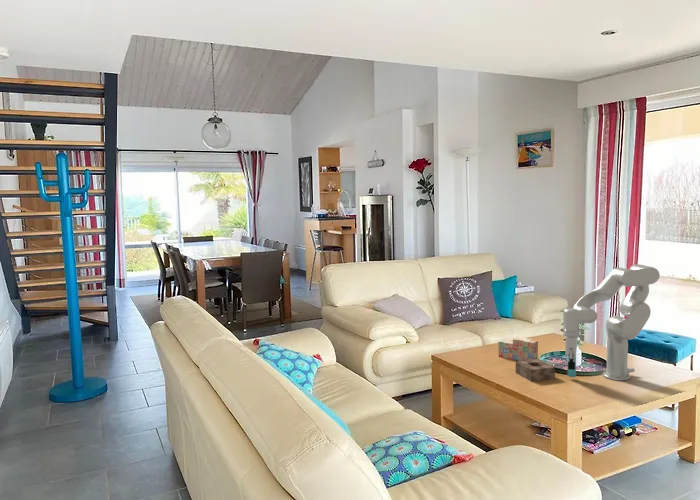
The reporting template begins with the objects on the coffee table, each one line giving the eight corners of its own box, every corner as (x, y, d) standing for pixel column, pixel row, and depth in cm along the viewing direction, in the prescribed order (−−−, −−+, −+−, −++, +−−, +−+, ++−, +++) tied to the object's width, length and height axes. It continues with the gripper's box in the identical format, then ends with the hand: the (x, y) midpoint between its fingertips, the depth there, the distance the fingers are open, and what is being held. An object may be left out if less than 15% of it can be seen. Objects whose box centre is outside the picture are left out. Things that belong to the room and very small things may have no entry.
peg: (572, 373, 274) (572, 351, 272) (577, 376, 270) (577, 353, 268) (565, 374, 273) (565, 352, 271) (571, 377, 269) (570, 354, 267)
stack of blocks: (498, 356, 312) (498, 336, 310) (503, 354, 316) (503, 334, 315) (533, 364, 297) (533, 342, 296) (537, 361, 302) (538, 340, 301)
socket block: (538, 369, 287) (538, 359, 286) (554, 378, 274) (555, 367, 273) (515, 372, 283) (515, 361, 283) (531, 381, 270) (531, 370, 269)
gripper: (564, 328, 278) (564, 362, 280) (562, 336, 263) (562, 372, 265) (579, 329, 275) (580, 363, 277) (579, 337, 260) (579, 373, 262)
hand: (571, 367), depth 271 cm, fingers closed on peg, 4 cm apart
